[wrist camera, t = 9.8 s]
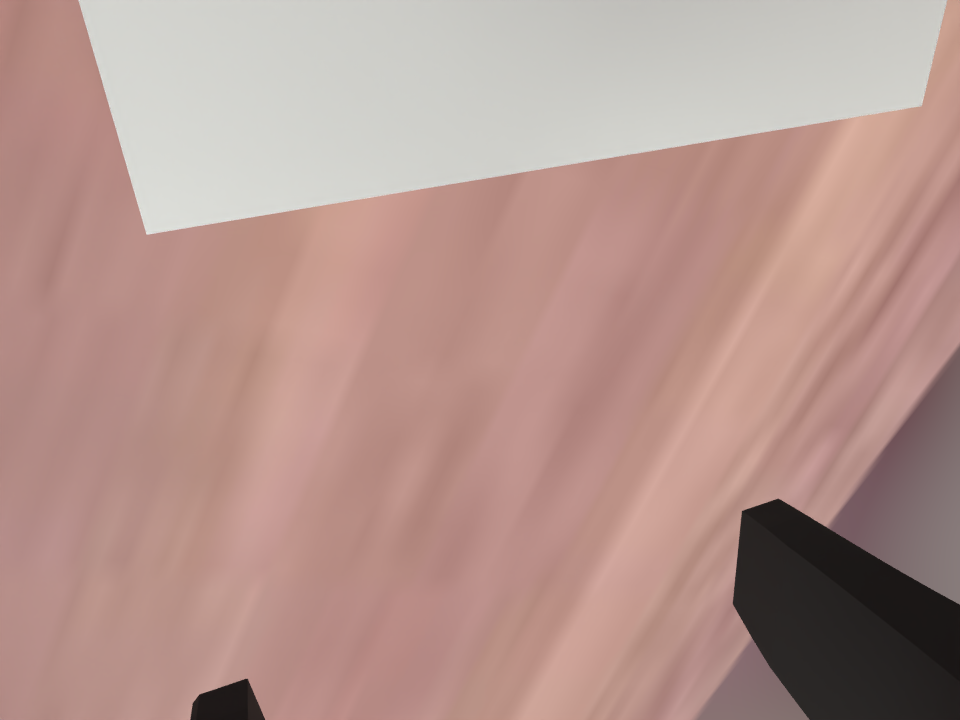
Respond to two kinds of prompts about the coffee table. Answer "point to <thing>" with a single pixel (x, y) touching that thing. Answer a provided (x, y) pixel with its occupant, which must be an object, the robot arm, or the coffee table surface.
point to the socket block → (469, 88)
